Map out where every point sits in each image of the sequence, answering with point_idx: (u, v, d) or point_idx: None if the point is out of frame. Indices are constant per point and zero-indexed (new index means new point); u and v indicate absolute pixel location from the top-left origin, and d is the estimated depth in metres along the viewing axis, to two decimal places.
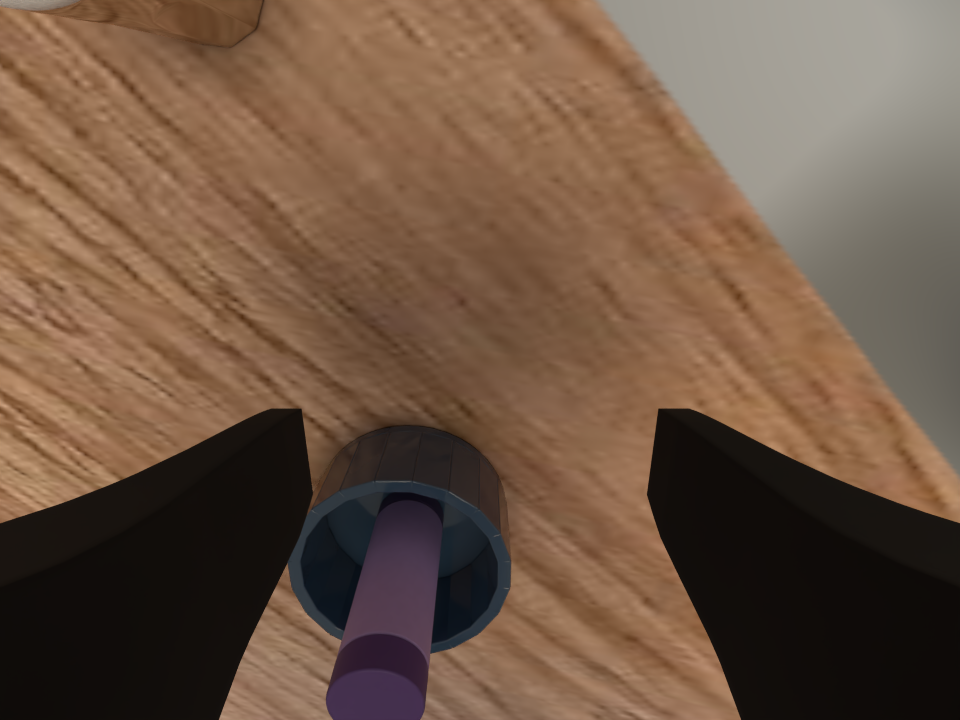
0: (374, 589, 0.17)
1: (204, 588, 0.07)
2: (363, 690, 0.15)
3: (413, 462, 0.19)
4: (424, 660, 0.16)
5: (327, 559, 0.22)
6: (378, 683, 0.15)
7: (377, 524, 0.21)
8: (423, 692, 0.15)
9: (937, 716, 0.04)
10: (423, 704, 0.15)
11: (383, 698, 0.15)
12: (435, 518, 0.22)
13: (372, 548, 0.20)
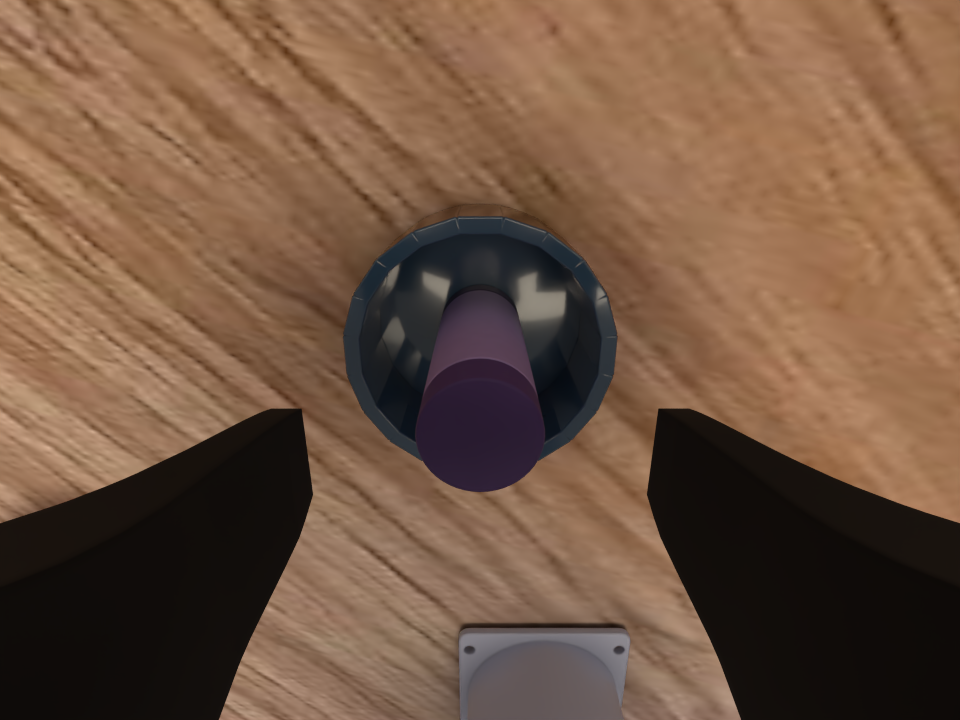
0: (462, 336, 0.14)
1: (204, 588, 0.07)
2: (466, 412, 0.11)
3: (498, 212, 0.16)
4: (537, 397, 0.12)
5: (383, 366, 0.19)
6: (487, 401, 0.11)
7: (447, 311, 0.17)
8: (543, 421, 0.12)
9: (939, 716, 0.04)
10: (543, 437, 0.11)
11: (492, 426, 0.11)
12: (514, 311, 0.18)
13: (447, 322, 0.16)
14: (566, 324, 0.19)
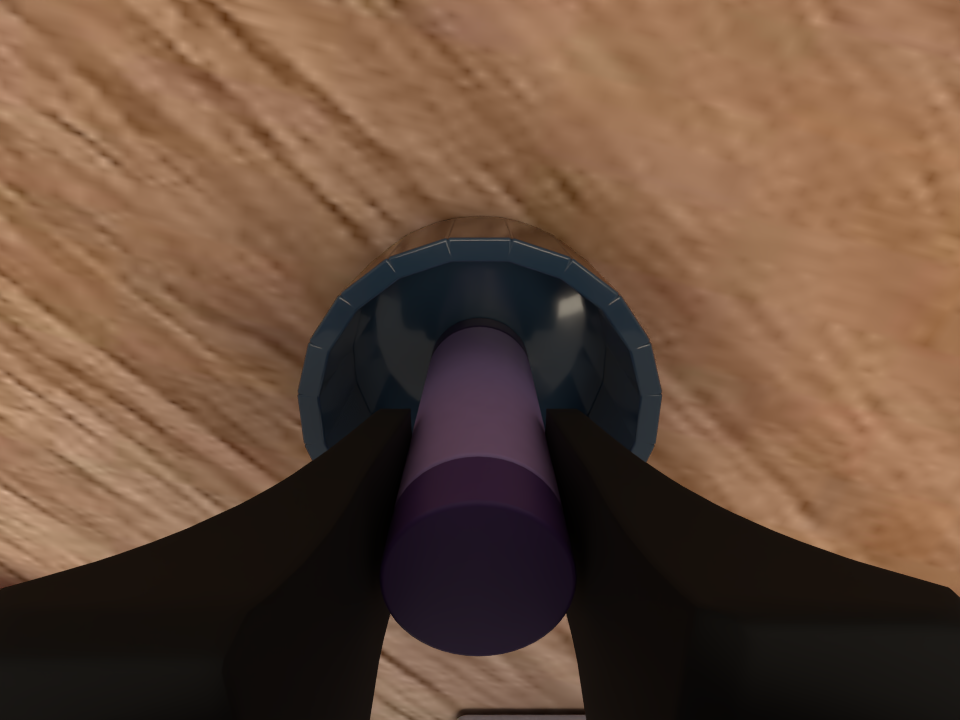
0: (454, 407, 0.10)
1: (363, 588, 0.07)
2: (457, 551, 0.07)
3: (504, 230, 0.12)
4: (562, 510, 0.08)
5: (356, 422, 0.15)
6: (489, 534, 0.07)
7: (436, 356, 0.14)
8: (574, 559, 0.08)
9: (666, 718, 0.04)
10: (574, 583, 0.08)
11: (496, 569, 0.07)
12: (523, 353, 0.14)
13: (435, 375, 0.12)
14: (588, 366, 0.15)
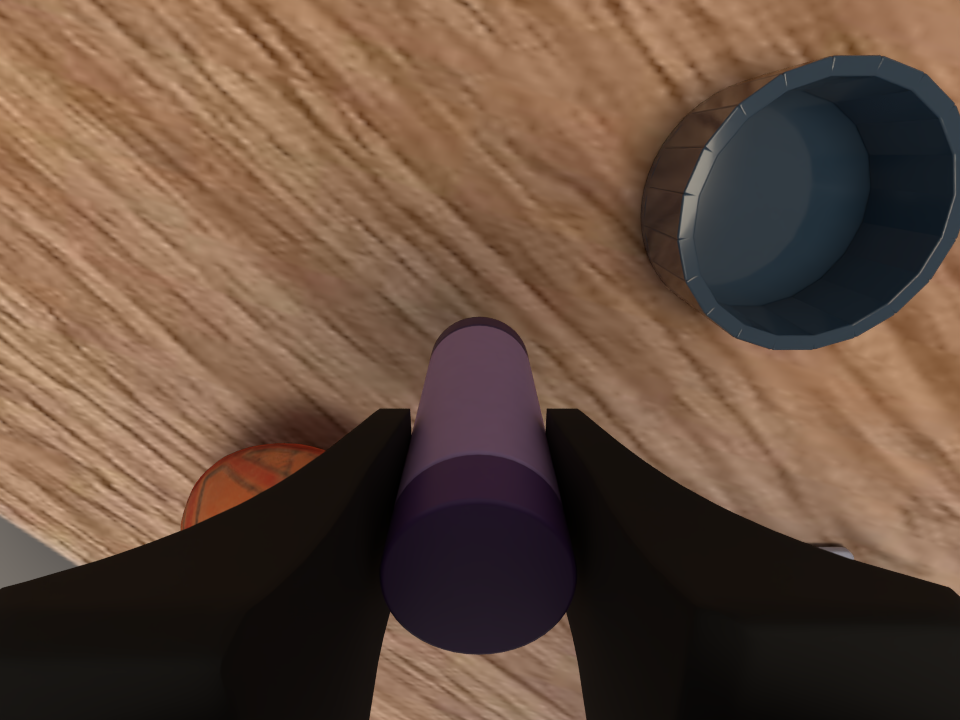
0: (454, 406, 0.10)
1: (363, 588, 0.07)
2: (457, 549, 0.07)
3: None
4: None
5: None
6: (489, 532, 0.07)
7: (436, 355, 0.14)
8: (574, 557, 0.08)
9: (666, 716, 0.04)
10: (575, 581, 0.08)
11: (496, 567, 0.07)
12: (523, 352, 0.14)
13: (435, 374, 0.12)
14: (852, 207, 0.19)
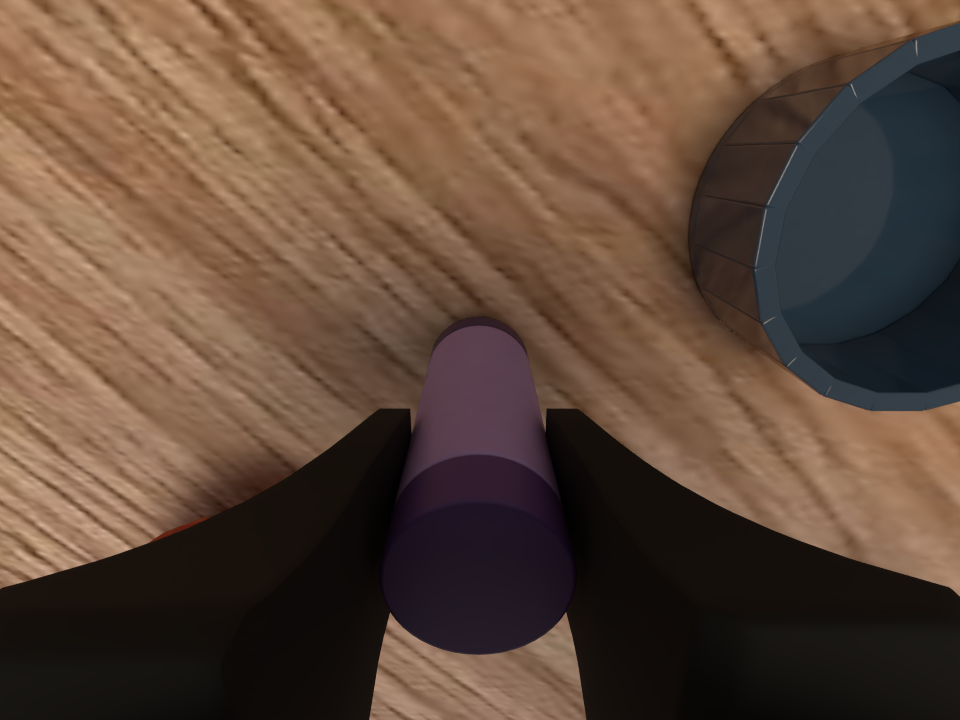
0: (454, 406, 0.10)
1: (363, 588, 0.07)
2: (457, 549, 0.07)
3: None
4: (562, 509, 0.08)
5: None
6: (489, 532, 0.07)
7: (436, 355, 0.14)
8: (574, 558, 0.08)
9: (667, 717, 0.04)
10: (574, 581, 0.08)
11: (496, 567, 0.07)
12: (523, 352, 0.14)
13: (435, 374, 0.12)
14: None
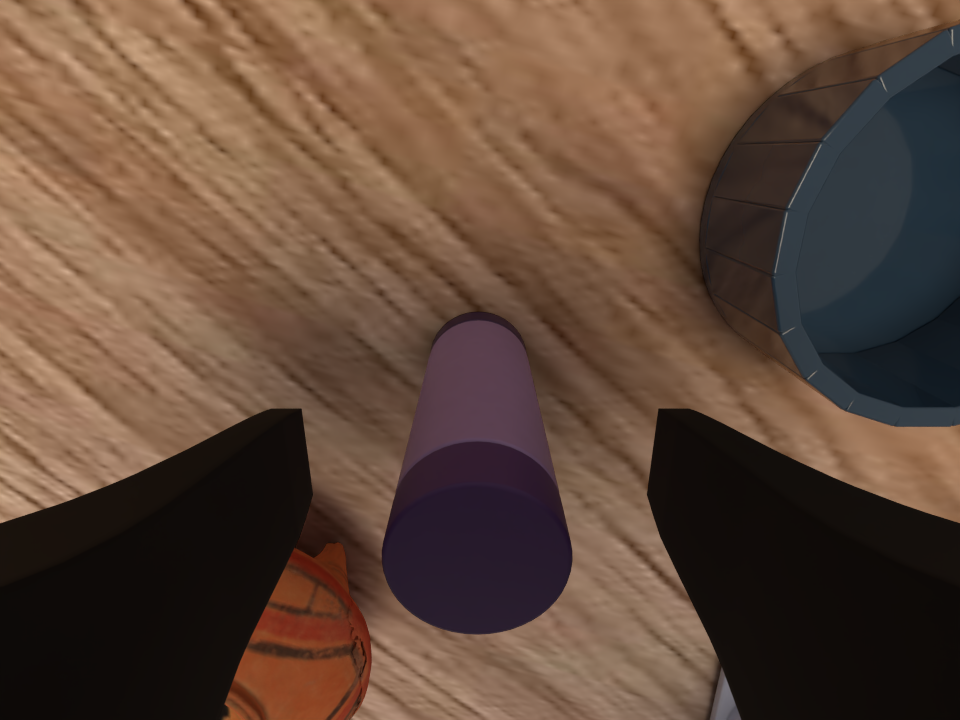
0: (454, 396, 0.10)
1: (204, 588, 0.07)
2: (457, 531, 0.08)
3: None
4: None
5: None
6: (488, 515, 0.07)
7: (436, 349, 0.14)
8: None
9: (937, 716, 0.04)
10: (570, 563, 0.08)
11: (494, 549, 0.08)
12: (521, 346, 0.14)
13: (435, 366, 0.12)
14: None
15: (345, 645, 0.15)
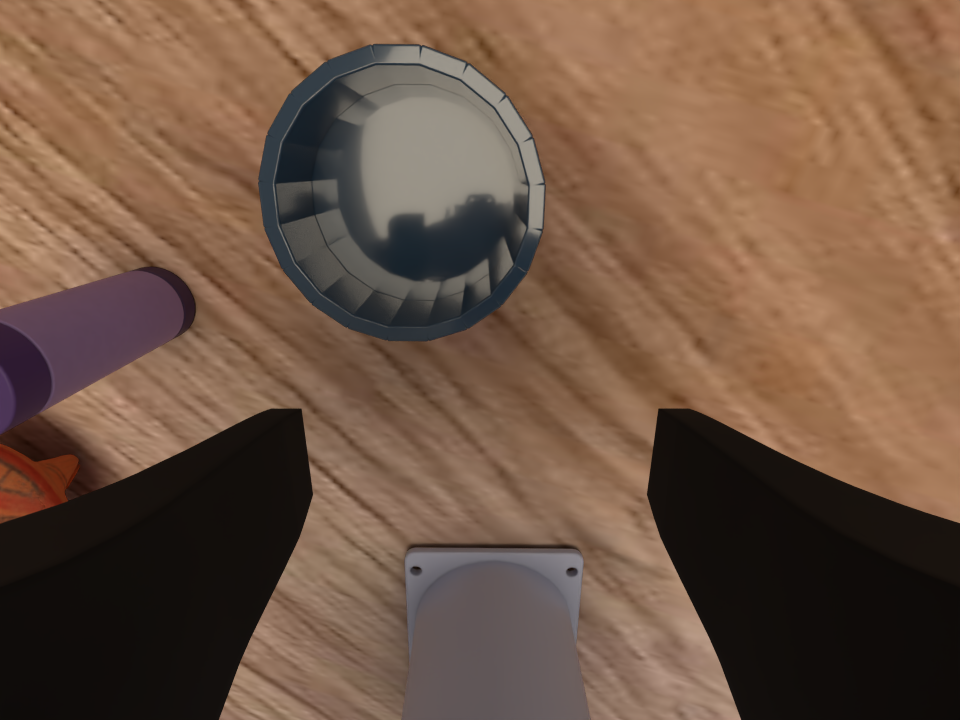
0: None
1: (204, 588, 0.07)
2: None
3: None
4: (37, 355, 0.13)
5: (311, 238, 0.18)
6: None
7: None
8: (12, 375, 0.13)
9: (937, 717, 0.04)
10: (11, 389, 0.12)
11: None
12: (168, 290, 0.19)
13: None
14: (506, 202, 0.19)
15: None
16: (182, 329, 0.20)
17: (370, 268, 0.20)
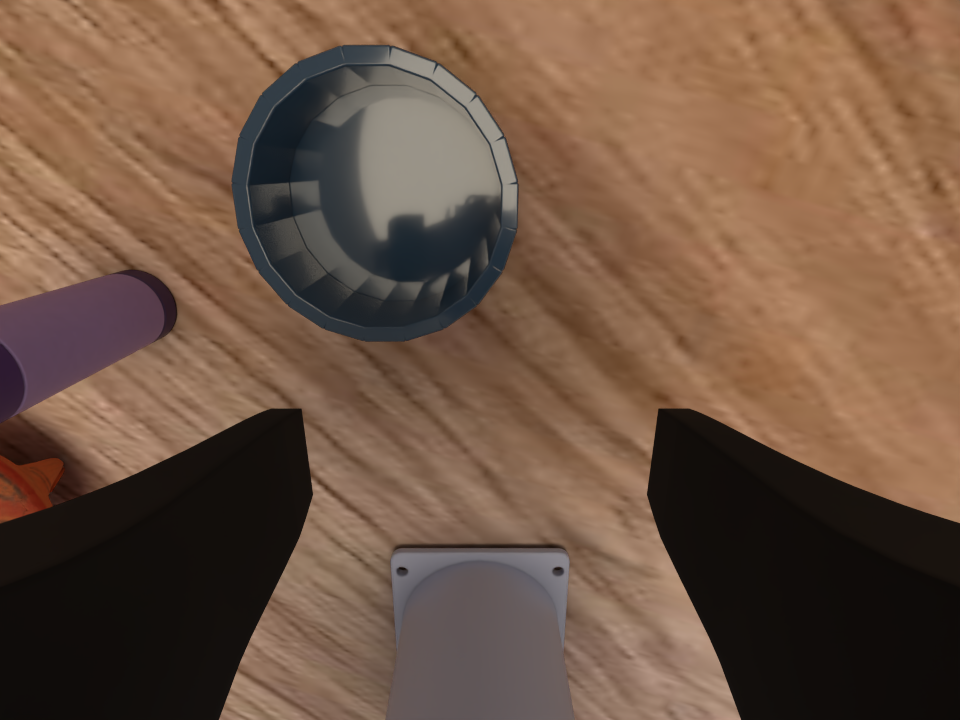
0: None
1: (204, 588, 0.07)
2: None
3: None
4: (9, 358, 0.13)
5: (289, 240, 0.18)
6: None
7: None
8: None
9: (937, 716, 0.04)
10: None
11: None
12: (148, 293, 0.19)
13: None
14: (484, 202, 0.19)
15: None
16: (163, 332, 0.20)
17: (350, 269, 0.20)
